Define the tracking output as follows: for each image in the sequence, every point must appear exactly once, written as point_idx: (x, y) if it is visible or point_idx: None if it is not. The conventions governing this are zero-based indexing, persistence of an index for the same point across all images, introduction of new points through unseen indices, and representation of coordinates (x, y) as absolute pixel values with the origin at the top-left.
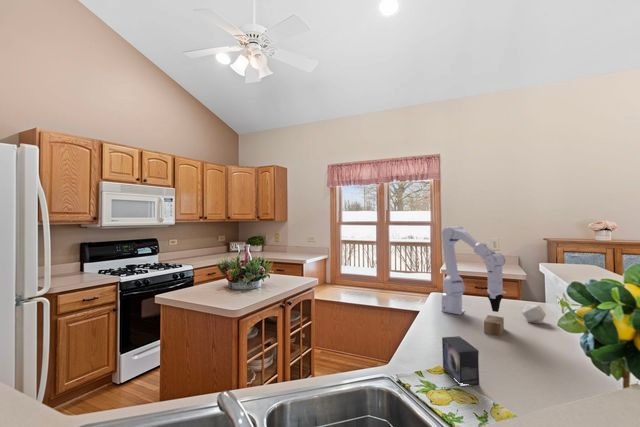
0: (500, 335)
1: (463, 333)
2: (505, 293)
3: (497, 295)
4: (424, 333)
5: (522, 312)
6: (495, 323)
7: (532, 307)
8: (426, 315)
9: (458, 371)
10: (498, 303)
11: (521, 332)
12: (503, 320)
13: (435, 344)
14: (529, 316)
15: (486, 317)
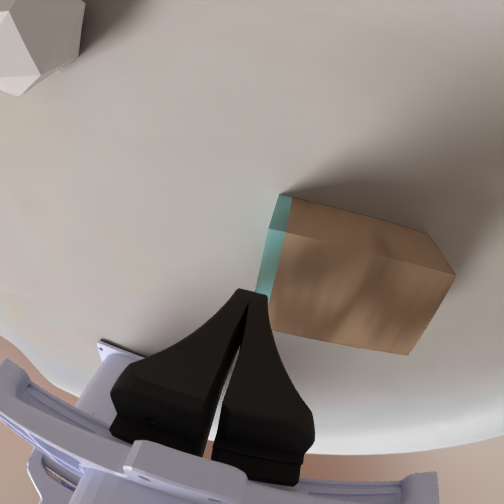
0: (429, 237)
1: (415, 372)
2: (225, 469)
3: (193, 442)
4: (421, 437)
5: (21, 92)
6: (441, 301)
7: (7, 28)
8: None
9: None
10: (281, 368)
11: (308, 90)
12: (283, 220)
13: (493, 408)
14: (63, 43)
15: (326, 340)
